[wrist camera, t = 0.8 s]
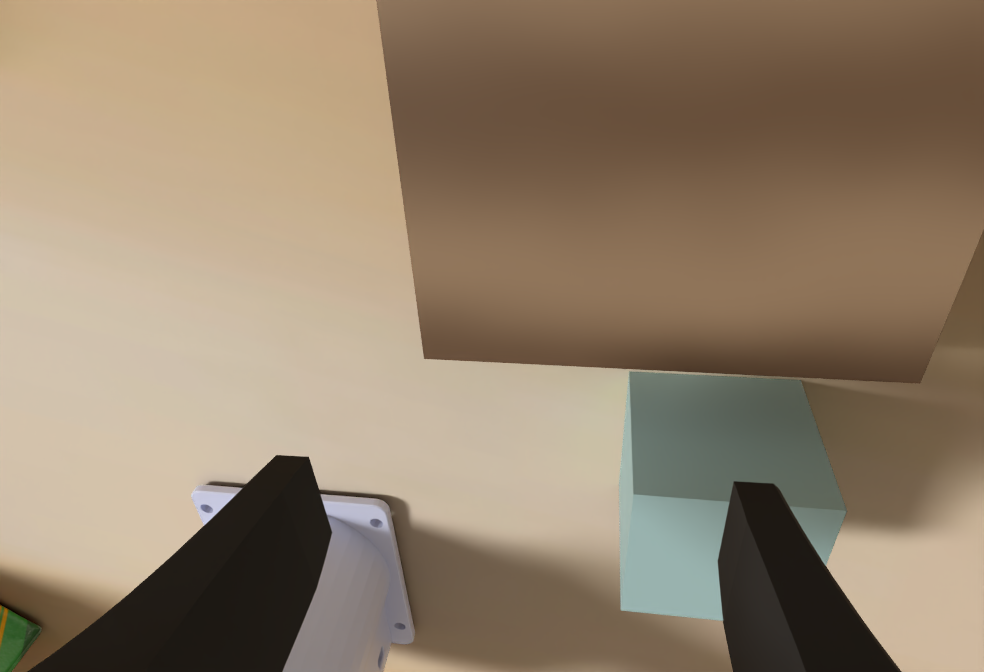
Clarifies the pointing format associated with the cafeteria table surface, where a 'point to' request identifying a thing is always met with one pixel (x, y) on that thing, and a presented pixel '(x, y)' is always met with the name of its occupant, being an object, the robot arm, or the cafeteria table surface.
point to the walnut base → (689, 180)
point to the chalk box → (15, 638)
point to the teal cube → (710, 480)
